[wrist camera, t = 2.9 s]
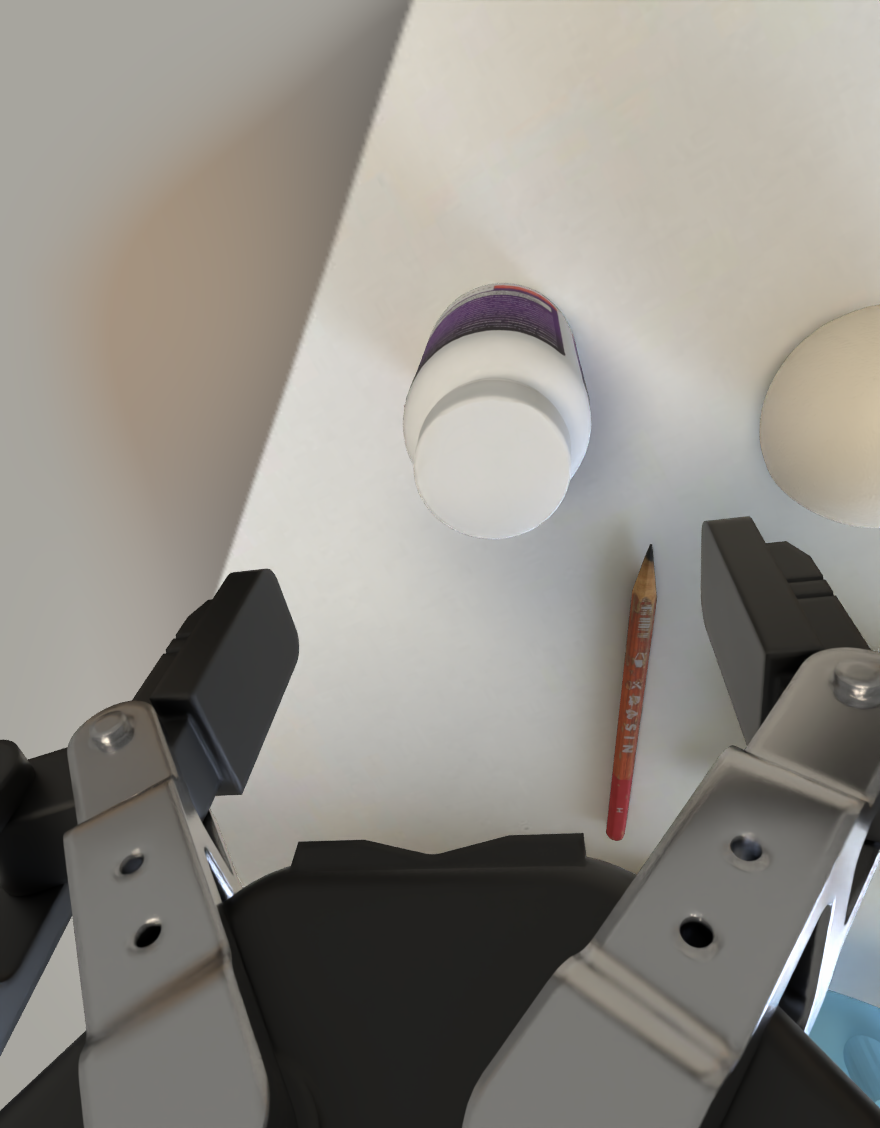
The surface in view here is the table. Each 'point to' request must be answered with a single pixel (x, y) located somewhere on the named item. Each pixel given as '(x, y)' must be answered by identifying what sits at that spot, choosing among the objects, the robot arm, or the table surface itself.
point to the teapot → (851, 1039)
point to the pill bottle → (497, 413)
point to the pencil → (632, 694)
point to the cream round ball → (829, 421)
